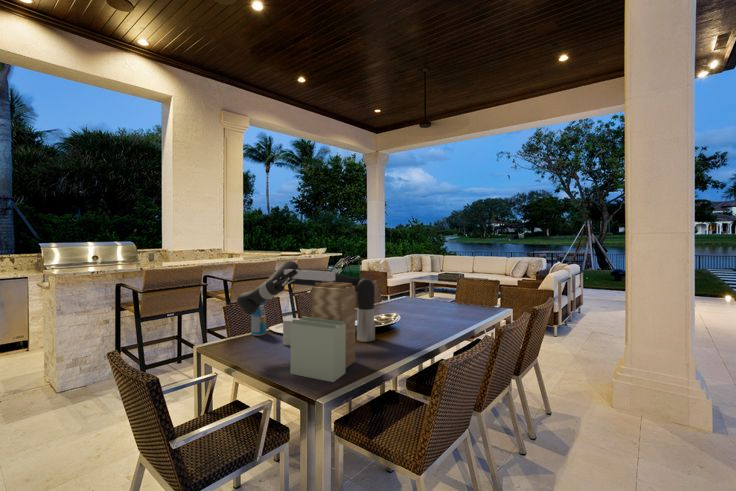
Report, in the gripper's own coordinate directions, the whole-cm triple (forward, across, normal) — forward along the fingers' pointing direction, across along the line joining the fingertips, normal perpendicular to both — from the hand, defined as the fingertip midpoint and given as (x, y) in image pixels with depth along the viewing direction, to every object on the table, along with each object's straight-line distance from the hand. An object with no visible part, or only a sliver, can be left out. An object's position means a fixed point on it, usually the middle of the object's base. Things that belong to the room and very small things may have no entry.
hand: (298, 271), depth 154 cm
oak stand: (-9, +8, +42) cm, 44 cm away
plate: (-53, +46, +18) cm, 73 cm away
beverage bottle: (-64, +30, +11) cm, 71 cm away
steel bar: (+3, 0, +6) cm, 6 cm away
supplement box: (-39, +24, +25) cm, 52 cm away
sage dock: (-9, -5, +42) cm, 43 cm away
